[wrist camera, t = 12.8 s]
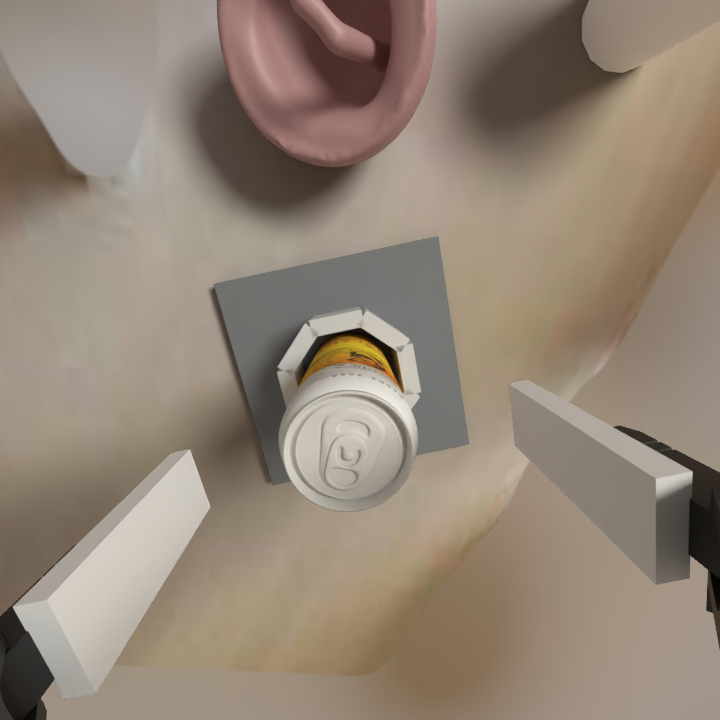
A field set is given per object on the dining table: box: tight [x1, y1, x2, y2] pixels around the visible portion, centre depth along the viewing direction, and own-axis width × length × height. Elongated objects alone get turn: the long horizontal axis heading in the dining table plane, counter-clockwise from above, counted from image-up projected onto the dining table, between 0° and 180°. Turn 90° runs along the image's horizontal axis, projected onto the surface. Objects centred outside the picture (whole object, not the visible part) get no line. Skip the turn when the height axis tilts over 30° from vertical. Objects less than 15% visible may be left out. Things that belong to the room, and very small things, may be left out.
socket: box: [214, 236, 469, 485], centre depth 27 cm, size 18×18×5 cm
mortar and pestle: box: [217, 0, 436, 167], centre depth 19 cm, size 12×12×12 cm
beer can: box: [279, 333, 418, 512], centre depth 21 cm, size 6×6×15 cm
